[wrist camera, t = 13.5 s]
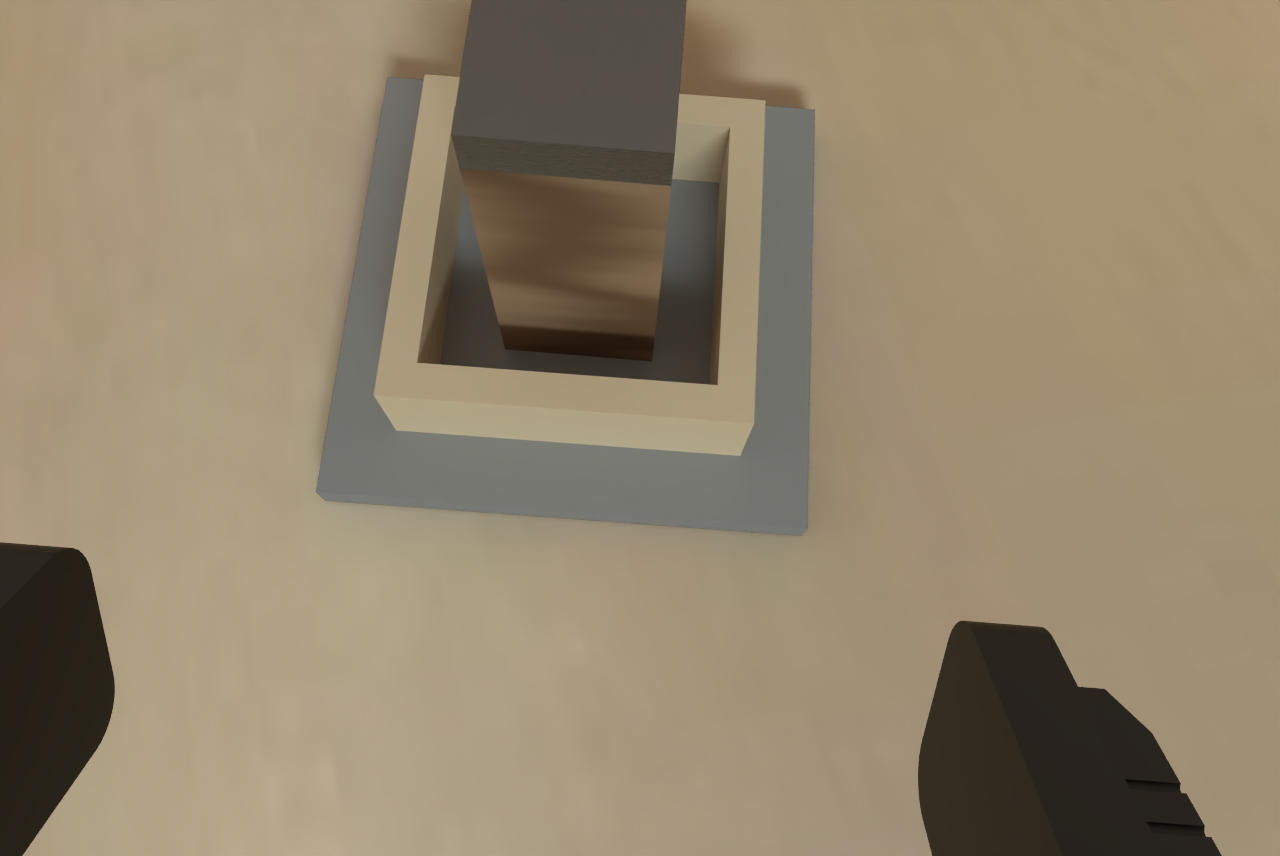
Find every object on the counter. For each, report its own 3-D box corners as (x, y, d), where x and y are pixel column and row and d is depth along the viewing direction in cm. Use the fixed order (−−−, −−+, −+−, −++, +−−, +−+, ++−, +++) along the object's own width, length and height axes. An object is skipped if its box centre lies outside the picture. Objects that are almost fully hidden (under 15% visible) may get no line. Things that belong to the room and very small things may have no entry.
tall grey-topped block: (662, 230, 32) (688, -29, 21) (652, 361, 30) (674, 153, 20) (521, 219, 32) (478, -46, 21) (505, 349, 30) (451, 134, 20)
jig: (809, 127, 34) (834, 48, 30) (801, 535, 30) (829, 503, 26) (393, 95, 34) (366, 12, 30) (325, 500, 30) (283, 462, 26)
